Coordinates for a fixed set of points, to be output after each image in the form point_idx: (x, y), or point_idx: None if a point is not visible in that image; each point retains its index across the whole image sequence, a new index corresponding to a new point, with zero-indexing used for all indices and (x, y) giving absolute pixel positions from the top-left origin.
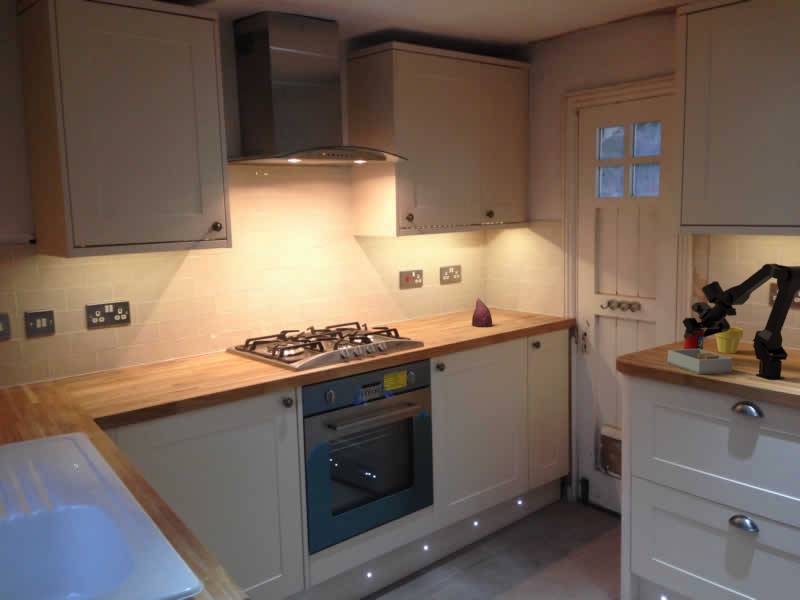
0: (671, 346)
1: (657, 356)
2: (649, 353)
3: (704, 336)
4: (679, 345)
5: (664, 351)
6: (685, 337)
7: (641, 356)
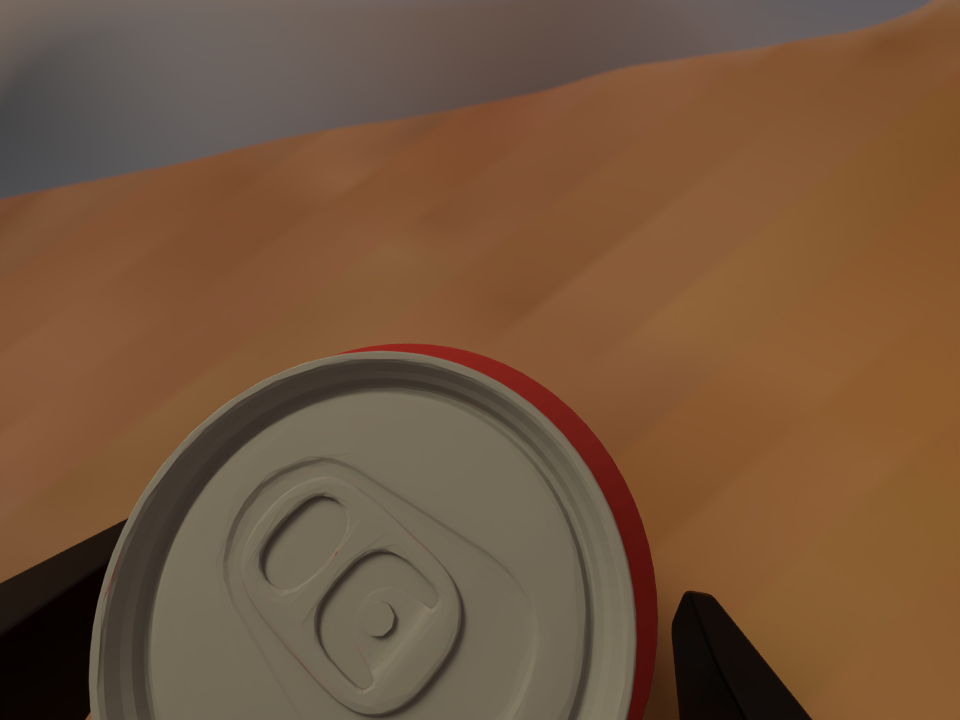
0: (690, 99)
1: (145, 350)
2: (216, 223)
3: (676, 666)
4: (805, 97)
5: (426, 220)
6: None
7: (22, 282)
